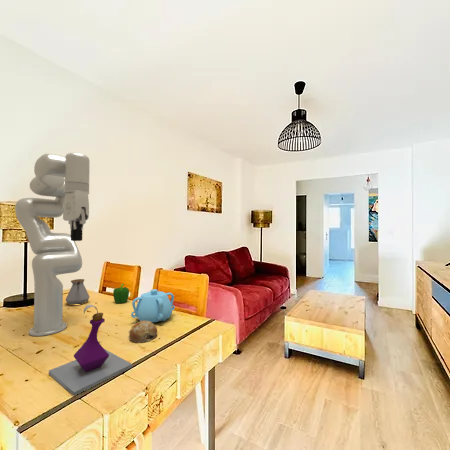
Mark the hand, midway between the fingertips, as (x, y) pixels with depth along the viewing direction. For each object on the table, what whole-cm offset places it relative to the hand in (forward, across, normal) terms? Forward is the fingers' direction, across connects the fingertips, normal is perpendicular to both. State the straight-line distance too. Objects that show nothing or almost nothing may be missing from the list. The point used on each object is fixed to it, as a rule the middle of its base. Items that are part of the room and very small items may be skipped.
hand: (76, 240), depth 88 cm
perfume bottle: (+36, +20, -4) cm, 42 cm away
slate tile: (+37, +20, -4) cm, 42 cm away
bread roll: (+38, +13, +18) cm, 44 cm away
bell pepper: (+37, -36, +39) cm, 65 cm away
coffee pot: (+37, -49, +22) cm, 65 cm away
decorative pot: (+37, +1, +33) cm, 50 cm away
